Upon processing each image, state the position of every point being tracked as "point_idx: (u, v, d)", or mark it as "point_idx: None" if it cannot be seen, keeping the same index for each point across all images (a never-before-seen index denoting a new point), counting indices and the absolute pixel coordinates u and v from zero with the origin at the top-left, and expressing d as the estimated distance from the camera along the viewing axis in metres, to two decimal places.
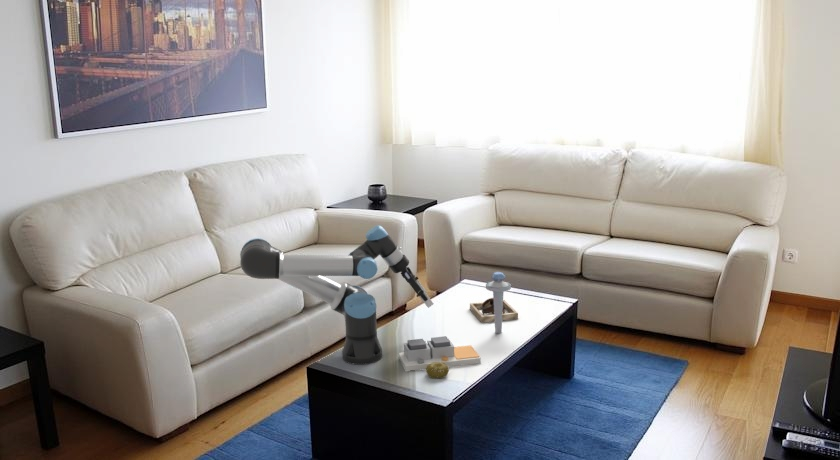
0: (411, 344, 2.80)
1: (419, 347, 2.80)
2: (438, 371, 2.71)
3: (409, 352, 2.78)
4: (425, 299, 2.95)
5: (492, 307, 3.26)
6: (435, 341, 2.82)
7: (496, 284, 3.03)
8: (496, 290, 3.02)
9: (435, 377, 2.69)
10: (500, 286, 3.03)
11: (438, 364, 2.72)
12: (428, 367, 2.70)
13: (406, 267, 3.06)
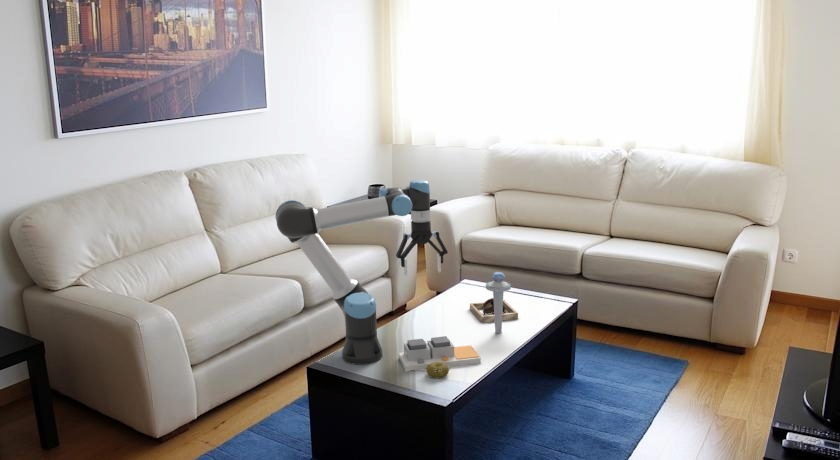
0: (411, 344, 2.80)
1: (419, 347, 2.80)
2: None
3: (409, 352, 2.78)
4: (401, 265, 2.99)
5: (493, 307, 3.26)
6: (435, 341, 2.82)
7: (496, 284, 3.03)
8: (496, 290, 3.02)
9: (435, 377, 2.69)
10: (500, 286, 3.03)
11: (438, 364, 2.72)
12: (428, 367, 2.70)
13: (436, 237, 2.98)
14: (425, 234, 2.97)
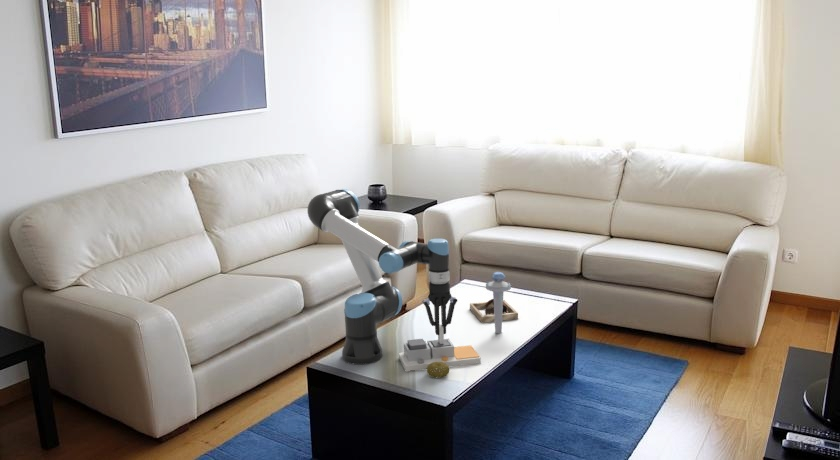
0: (411, 344, 2.80)
1: (419, 347, 2.80)
2: (439, 371, 2.71)
3: (409, 352, 2.78)
4: (435, 332, 2.83)
5: None
6: (435, 344, 2.83)
7: (496, 284, 3.03)
8: (496, 290, 3.02)
9: (435, 377, 2.69)
10: (500, 286, 3.03)
11: (439, 364, 2.72)
12: (429, 367, 2.70)
13: (452, 303, 2.81)
14: (445, 296, 2.79)
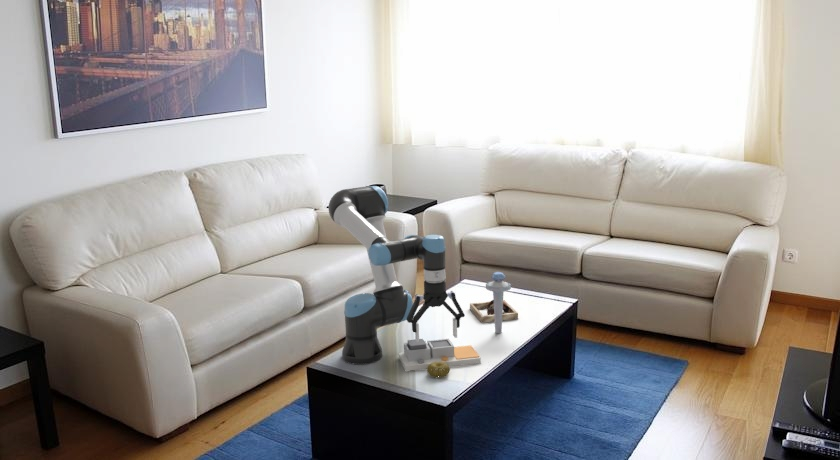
0: (411, 344, 2.80)
1: (419, 347, 2.80)
2: None
3: (409, 352, 2.78)
4: (412, 329, 2.66)
5: None
6: (435, 346, 2.83)
7: (496, 284, 3.03)
8: (496, 290, 3.02)
9: (436, 376, 2.69)
10: (500, 286, 3.03)
11: (439, 363, 2.72)
12: (429, 366, 2.70)
13: (452, 299, 2.65)
14: (440, 295, 2.64)
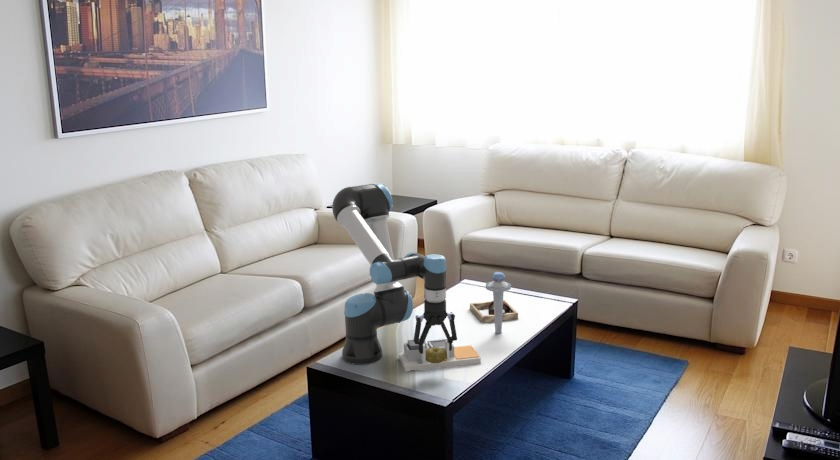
0: (411, 344, 2.80)
1: None
2: None
3: (409, 352, 2.78)
4: (419, 351, 2.69)
5: None
6: (435, 346, 2.83)
7: (496, 284, 3.03)
8: (496, 290, 3.02)
9: (433, 362, 2.68)
10: (500, 286, 3.03)
11: (436, 349, 2.71)
12: (426, 352, 2.70)
13: (450, 320, 2.67)
14: (440, 315, 2.66)
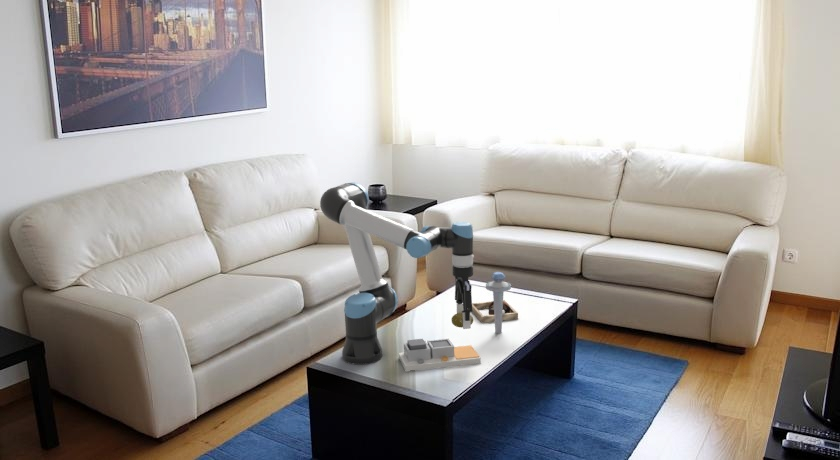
0: (411, 344, 2.80)
1: (419, 347, 2.80)
2: (462, 320, 2.83)
3: (409, 352, 2.78)
4: (467, 319, 2.76)
5: None
6: (435, 346, 2.83)
7: (496, 284, 3.03)
8: (496, 290, 3.02)
9: None
10: (500, 286, 3.03)
11: (459, 315, 2.82)
12: None
13: None
14: None
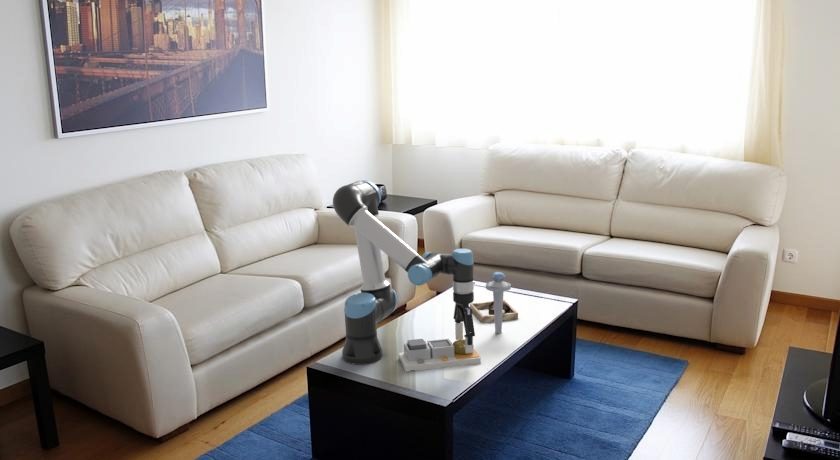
0: (411, 344, 2.80)
1: (419, 347, 2.80)
2: (463, 347, 2.86)
3: (409, 352, 2.78)
4: (470, 343, 2.76)
5: None
6: (435, 346, 2.83)
7: (496, 284, 3.03)
8: (496, 290, 3.02)
9: None
10: (500, 286, 3.03)
11: (460, 342, 2.85)
12: None
13: None
14: None
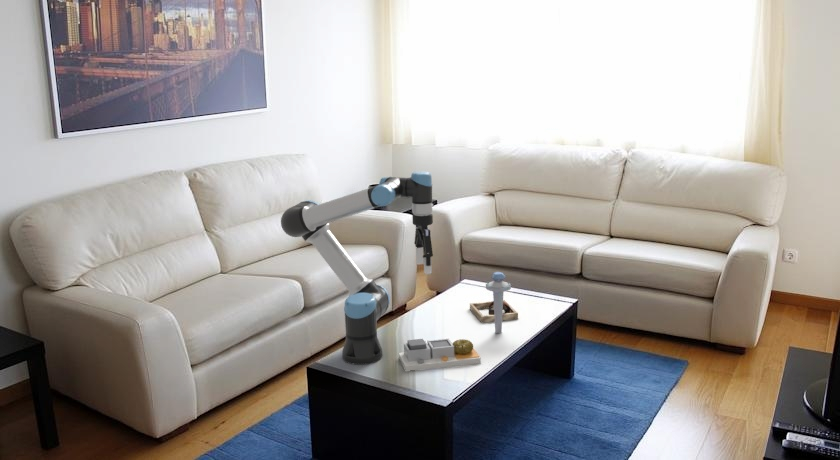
0: (411, 344, 2.80)
1: (419, 347, 2.80)
2: (462, 347, 2.86)
3: (409, 352, 2.78)
4: (428, 264, 2.80)
5: None
6: (435, 346, 2.83)
7: (496, 284, 3.03)
8: (496, 290, 3.02)
9: (470, 351, 2.85)
10: (500, 286, 3.03)
11: (459, 342, 2.85)
12: None
13: None
14: None
